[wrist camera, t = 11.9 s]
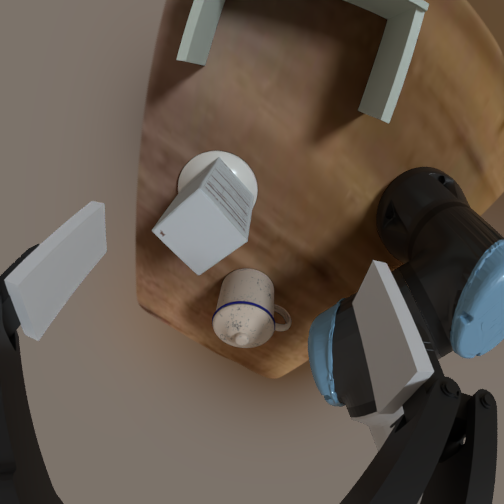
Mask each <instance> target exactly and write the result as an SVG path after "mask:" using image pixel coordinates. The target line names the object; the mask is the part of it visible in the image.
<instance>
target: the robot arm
mask: <svg viewBox="0 0 504 504" xmlns="http://www.w3.org/2000/svg"><path fill="white" fill-rule="evenodd" d="M376 220H377V229H378V233H379V236H380V238H381V240H382V242H383V243H384V245H385V247H386V248H387V250H388V251H389V252H390V253H391V254H392V255H393V256H394V257H395V258H397V259H398V260H400V261H401V262H403V263H405V264H403V265H402V266H400V267H399V268H397V269H395V270H393V271H392V272H391V271H390V269H389V267H388V265H387V263H384V262H380V261H375V260H373V261H372V263H371V265H370V268H369V270H368V272H367V274H366V276H365V278H364V280H363V282H362V284H361V286H360V288H359V291H358V292H357V293H355V294H353V295H351V296H350V297H348V298H343V299H341V300H339V301H338V302H337V304H336V305H334V306H332V307H331V308H329V309H328V310H326V311H324V312H323V313H321V314H320V315H318V316H317V317H316V318H315V320H314V321H313V323H312V325H311V328H310V331H309V337H308V354H309V361H310V366H311V370H312V374H313V377H314V380H315V383H316V385H317V387H318V389H319V391H320V393H321V395H324V398H325V400H326V401H327V402H328V403H329V404H330V405H333V406H340V407H341V406H344V405H346V407H347V409H348V412H349V414H350V417H351V419H352V420H355V421H358V422H360V423H363V424H366V425H367V426H369V428H370V431H371V434H372V436H373V439H374V441H375V444H376V447H377V450H378V453H377V455H376V456H375V458H374V459H373V461H372V462H371V463H370V465H369V466H368V468H367V469H366V470H365V472H364V473H363V475H362V476H361V477H360V479H359V480H358V481H357V483H356V484H355V485H354V486H353V488H352V489H351V490H350V492H349V493H348V494H347V495H346V497H345V498H344V499H343V500H342V501H341V503H340V504H492V499H493V492H494V484H495V473H496V460H497V459H496V458H497V406H496V401H495V399H494V397H493V395H492V394H491V393H490V392H488V391H487V390H484V389H480V390H478V391H477V392H476V393H475V394H474V395H473V396H470V395H467V394H464V393H461V390H460V388H459V386H458V384H457V383H456V382H455V381H454V380H453V379H451V378H449V377H445V376H444V374H443V371H442V369H441V366H440V364H439V361H438V359H440V358H441V357H443V356H445V355H446V354H448V353H450V352H452V351H453V350H454V352H455V353H457V354H458V355H460V356H461V357H463V358H473V357H474V356H475V355H477V356H481V355H483V354H485V353H486V352H488V351H490V350H491V349H492V348H494V347H495V346H496V345H498V344H499V343H500V342H501V341H502V340H503V339H504V238H503V237H502V236H501V235H500V234H499V233H498V232H497V231H496V230H495V229H494V228H493V227H492V226H491V225H490V224H488V223H487V222H486V221H485V220H484V219H483V218H482V217H481V216H479V215H478V214H477V213H476V212H475V211H473V210H472V209H471V208H470V206H469V204H468V202H467V200H466V197H465V195H464V193H463V191H462V189H461V188H460V186H459V185H458V184H457V183H456V181H455V180H454V179H452V178H451V177H450V176H448V175H447V174H445V173H444V172H442V171H440V170H438V169H435V168H431V167H419V168H414V169H411V170H409V171H407V172H405V173H403V174H401V175H400V176H399V177H397V178H396V179H395V180H394V181H393V182H392V183H391V184H390V185H389V187H388V188H387V189H386V191H385V192H384V194H383V196H382V198H381V200H380V203H379V206H378V210H377V219H376ZM106 252H107V248H106V230H105V204H104V203H100V202H94V201H91V202H90V203H89V204H87V205H86V206H85V207H84V208H82V209H81V210H80V211H79V212H77V213H76V214H75V215H74V216H73V217H71V218H70V219H69V220H68V221H67V222H65V223H64V224H63V225H62V226H61V227H59V228H58V229H57V230H56V231H55V232H54V233H53V234H52V235H51V236H49V237H48V238H47V239H46V240H45V241H44V242H42V243H41V244H37V245H35V246H33V247H31V248H29V249H28V250H27V251H26V252H25V253H23V254H22V255H21V257H20V258H18V259H17V260H16V261H15V263H13V264H12V265H11V266H10V267H9V268H8V269H7V270H6V271H5V272H4V273H3V274H2V275H1V276H0V504H63V502H62V501H61V499H60V498H59V497H58V496H57V494H56V492H55V490H54V488H53V486H52V484H51V481H50V478H49V475H48V472H47V470H46V467H45V464H44V461H43V458H42V455H41V452H40V448H39V445H38V442H37V438H36V434H35V430H34V427H33V422H32V418H31V414H30V410H29V405H28V400H27V395H26V390H25V384H24V378H23V371H22V364H21V356H20V346H19V336H18V333H17V331H16V330H17V328H18V327H19V326H20V324H21V327H22V329H23V331H24V334H25V335H27V336H29V337H31V338H33V339H35V340H37V341H39V340H40V338H41V337H42V335H43V334H44V332H45V331H46V329H47V328H48V326H49V325H50V324H51V322H52V321H53V320H54V318H55V317H56V315H57V314H58V313H59V311H60V310H61V309H62V307H63V306H64V305H65V303H66V302H67V300H68V299H69V298H70V297H71V295H72V294H73V293H74V291H75V290H76V289H77V287H78V286H79V285H80V283H81V282H82V281H83V280H84V279H85V277H86V276H87V275H88V273H89V272H90V271H91V270H92V269H93V267H94V266H95V265H96V264H97V262H98V261H99V260H100V259H101V258H102V256H103V255H104V254H105V253H106ZM406 283H407V284H406ZM407 285H408V286H407ZM408 287H409V288H408ZM409 289H410V290H409ZM410 291H411V292H410ZM420 311H421V312H420ZM421 313H422V314H421ZM422 315H423V316H422ZM428 328H429V329H428ZM465 437H466V440H465V444H463V439H464V438H465Z"/></svg>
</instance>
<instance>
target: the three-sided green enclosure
mask: <svg viewBox="0 0 504 504" xmlns="http://www.w3.org/2000/svg"><path fill="white" fill-rule="evenodd" d="M344 1H346V2H349V3H351V4H354V5H356V6H359V7H361V8H363V9H366V10H368V11H370V12H373V13H375V14H377V15H379V16H381V17H383V18H385V19H388V20H387V23H386V27H385V30H384V33H383V36H382V40H381V43H380V46H379V49H378V52H377V55H376V58H375V61H374V64H373V67H372V70H371V73H370V76H369V79H368V82H367V85H366V88H365V91H364V94H363V97H362V100H361V103H360V105H359V108H358V111H360V112H362V113H364V114H367V115H370V116H372V117H375V118H377V119H380V120H382V121H384V122H387V123H389V122H390V119H391V117H392V114H393V111H394V108H395V106H396V103H397V100H398V97H399V94H400V91H401V88H402V86H403V83H404V80H405V77H406V74H407V70H408V67H409V64H410V61H411V58H412V55H413V51H414V48H415V45H416V41H417V38H418V35H419V31H420V27H421V24H422V20H423V16H424V13H425V11H427V10H428V6H429V4H428V3H427V2H425V1H423V0H344ZM224 3H225V0H194V2H193V5H192V8H191V11H190V14H189V17H188V21H187V24H186V27H185V30H184V34H183V37H182V41H181V44H180V48H179V51H178V55H177V59H176V60H179V61H184V62H189V63H194V64H199V65H204V66H205V65H206V61H207V57H208V54H209V50H210V47H211V44H212V40H213V37H214V34H215V30H216V27H217V24H218V21H219V18H220V15H221V12H222V9H223V6H224Z"/></svg>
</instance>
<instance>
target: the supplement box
mask: <svg viewBox="0 0 504 504" xmlns="http://www.w3.org/2000/svg"><path fill="white" fill-rule="evenodd" d="M253 200H254V195H253V194H252V193H251V192H250V191H249V190H248V188H247V187H246V186H245V185H244V184H243V183H242V182H241V181H240V179H239V178H238V177H237V176H236V175H235V174H234V173H233V172H232V170H231V169H230V168H229V167H228V166H227V165H226V164H225V163H224V162H223V160H222V159H221V158H220V157H218V158H217V159H215V160H214V161H213V162H212V163H210V164H209V165H208V166H207V167H206V168H204V169H203V170H202V171H201V172H200V173H199V174H197V175H196V176H195V177H194V178H193V179H192V180H191V181H190V182H189V183H187V184H186V185H185V186H184V187H183V188H182V189H181V191H180V192H179V193H178V195H177V196H176V197H175V199H174V200H173V201H172V203H171V204H170V205H169V207H168V208H167V210H166V211H165V212H164V214H163V215H162V216H161V218H160V219H159V221H158V222H157V223H156V225H155V226H154V228H153V229H152V232H153V233H154V234H155V235H156V236H157V237H158V238H159V239H160V240H161V241H162V242H163V243H164V244H165V245H166V246H167V247H169V248H170V249H171V250H172V251H173V252H174V253H175V254H176V255H177V256H178V257H179V258H180V259H181V260H182V261H183V262H184V263H185V264H186V265H187V266H188V267H190V268H191V269H192V270H193V271H194V272H195V273H196V274H197V275H200V274H202V273H203V272H205V271H206V270H208V269H209V268H211V267H212V266H213V265H215V264H216V263H218V262H219V261H220V260H222V259H223V258H225V257H226V256H228V255H229V254H230V253H232V252H233V251H235V250H236V249H237V248H239V247H240V246H242V245H243V244H244V243H246V242H247V241H248V234H249V227H250V221H251V214H252V207H253Z"/></svg>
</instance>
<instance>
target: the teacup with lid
mask: <svg viewBox="0 0 504 504" xmlns="http://www.w3.org/2000/svg"><path fill="white" fill-rule="evenodd" d="M274 311H275V312H277V313H279V314H280V315H281V316H282V317H283V318H284V320H285V322H286V324H278V323H275V320H274ZM291 323H292V321H291V317H290V315H289V313H288V312H287V311H286V310H285V309H284V308H283V307H281V306H279V305H276V304H274V286H273V283H272V282H271V280H270V279H269V278H268V277H267V276H266V275H265V274H264V273H262V272H260V271H258V270H254V269H238V270H235V271H233V272H231V273H230V274H228V275H227V276H226V277H225V279H224V280H223V283H222V286H221V290H220V295H219V299H218V303H217V308H216V312H215V313H214V315H213V318H212V326H213V329H214V332H215V333H216V335H217V336H218V337H219V338H220V339H221V340H222V341H224V342H225V343H227V344H229V345H232V346H235V347H240V348H252V347H257V346H260V345H262V344H264V343H265V342H267V341H268V340H269V339H270V338H271V336H272V335H273V333H274V330H276V331H286V330H288V329H289V327H290V326H291Z"/></svg>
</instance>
